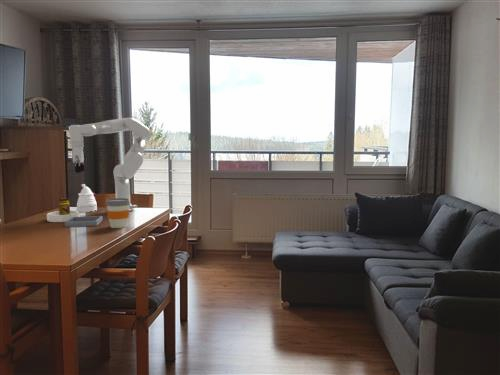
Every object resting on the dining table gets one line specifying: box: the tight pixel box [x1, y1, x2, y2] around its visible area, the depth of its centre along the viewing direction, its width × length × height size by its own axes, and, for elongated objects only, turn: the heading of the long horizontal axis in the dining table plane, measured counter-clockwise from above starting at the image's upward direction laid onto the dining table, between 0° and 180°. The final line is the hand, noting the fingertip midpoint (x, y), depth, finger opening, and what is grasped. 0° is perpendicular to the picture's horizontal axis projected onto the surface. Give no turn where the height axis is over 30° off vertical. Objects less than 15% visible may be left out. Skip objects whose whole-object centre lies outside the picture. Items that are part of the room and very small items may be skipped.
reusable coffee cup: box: [105, 197, 131, 229], centre depth 231 cm, size 13×13×15 cm
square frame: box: [64, 215, 104, 228], centre depth 241 cm, size 17×17×2 cm
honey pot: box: [76, 183, 98, 213], centre depth 286 cm, size 13×13×18 cm
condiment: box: [58, 197, 71, 215], centre depth 254 cm, size 7×8×12 cm
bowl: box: [46, 210, 80, 223], centre depth 254 cm, size 17×17×4 cm
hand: (80, 171), depth 264 cm, fingers open, 9 cm apart
